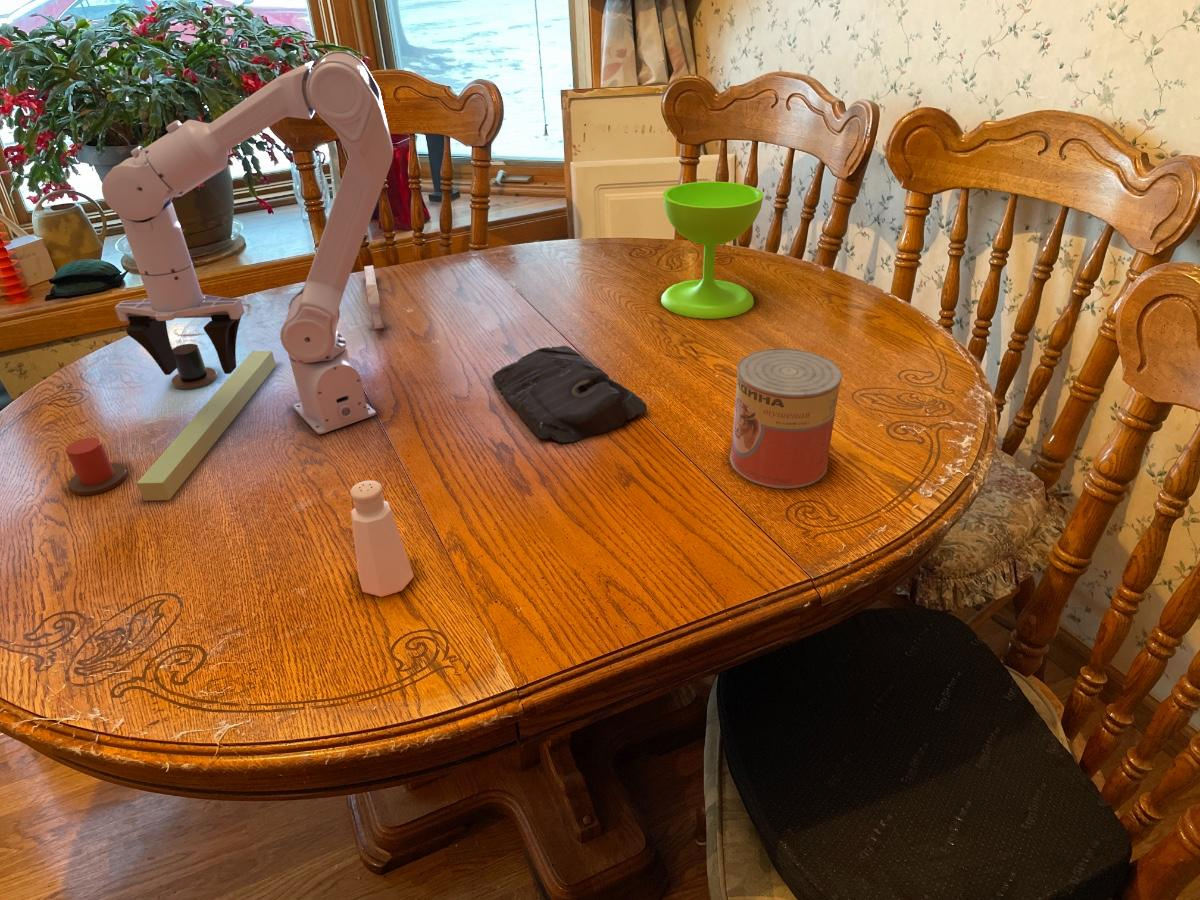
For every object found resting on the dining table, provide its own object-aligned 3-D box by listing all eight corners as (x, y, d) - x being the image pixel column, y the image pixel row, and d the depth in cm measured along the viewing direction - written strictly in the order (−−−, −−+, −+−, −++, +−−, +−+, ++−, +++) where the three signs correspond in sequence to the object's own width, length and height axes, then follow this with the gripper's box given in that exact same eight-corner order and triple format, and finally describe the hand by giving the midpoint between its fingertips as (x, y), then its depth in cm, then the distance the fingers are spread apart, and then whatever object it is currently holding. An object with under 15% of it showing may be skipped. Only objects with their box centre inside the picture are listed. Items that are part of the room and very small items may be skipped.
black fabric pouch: (580, 354, 118) (579, 325, 115) (655, 419, 101) (655, 386, 98) (485, 378, 112) (481, 348, 109) (547, 450, 95) (545, 417, 93)
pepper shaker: (418, 559, 79) (400, 469, 73) (409, 596, 74) (389, 504, 68) (365, 561, 79) (342, 471, 73) (352, 599, 74) (327, 506, 68)
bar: (169, 500, 89) (162, 482, 87) (143, 501, 89) (136, 483, 87) (276, 365, 117) (272, 350, 116) (256, 366, 117) (252, 350, 116)
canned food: (713, 447, 95) (719, 358, 88) (793, 428, 98) (804, 341, 92) (760, 498, 86) (771, 403, 80) (847, 475, 89) (863, 383, 83)
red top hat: (132, 482, 92) (117, 446, 89) (75, 502, 89) (57, 465, 86) (121, 461, 96) (106, 426, 93) (66, 479, 93) (49, 443, 90)
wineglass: (647, 290, 139) (648, 187, 129) (729, 278, 143) (736, 177, 133) (681, 324, 126) (685, 212, 116) (771, 310, 130) (781, 201, 120)
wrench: (378, 293, 149) (386, 338, 123) (368, 294, 148) (375, 339, 122) (370, 250, 145) (377, 287, 119) (360, 251, 145) (365, 289, 119)
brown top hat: (222, 380, 113) (212, 349, 111) (178, 393, 110) (167, 362, 108) (210, 366, 117) (200, 336, 115) (168, 379, 114) (156, 348, 112)
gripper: (85, 280, 88) (128, 386, 95) (212, 278, 88) (245, 384, 95) (118, 259, 94) (156, 360, 101) (237, 257, 94) (266, 359, 101)
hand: (200, 370), depth 99 cm, fingers open, 7 cm apart
